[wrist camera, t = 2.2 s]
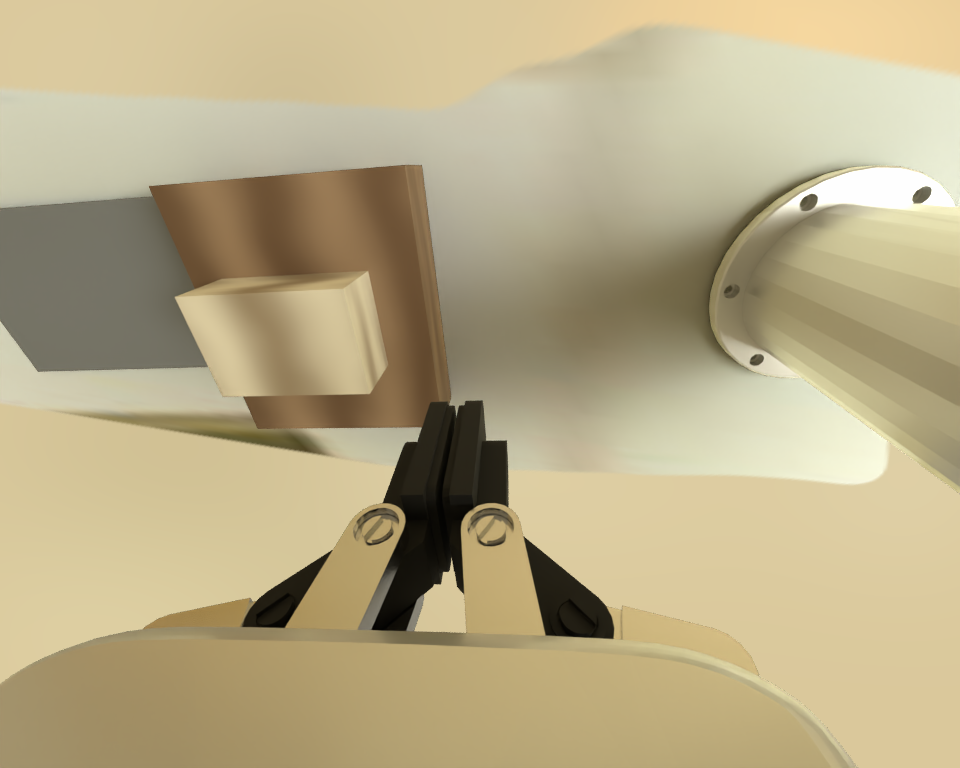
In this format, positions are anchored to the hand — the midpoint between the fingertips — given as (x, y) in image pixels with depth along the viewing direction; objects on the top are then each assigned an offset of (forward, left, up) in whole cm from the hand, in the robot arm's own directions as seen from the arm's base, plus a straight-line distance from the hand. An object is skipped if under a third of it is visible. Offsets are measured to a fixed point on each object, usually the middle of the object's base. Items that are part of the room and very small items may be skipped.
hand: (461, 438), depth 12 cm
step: (+11, 0, -16) cm, 19 cm away
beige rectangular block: (+11, 0, -12) cm, 16 cm away
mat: (+28, -1, -16) cm, 32 cm away
